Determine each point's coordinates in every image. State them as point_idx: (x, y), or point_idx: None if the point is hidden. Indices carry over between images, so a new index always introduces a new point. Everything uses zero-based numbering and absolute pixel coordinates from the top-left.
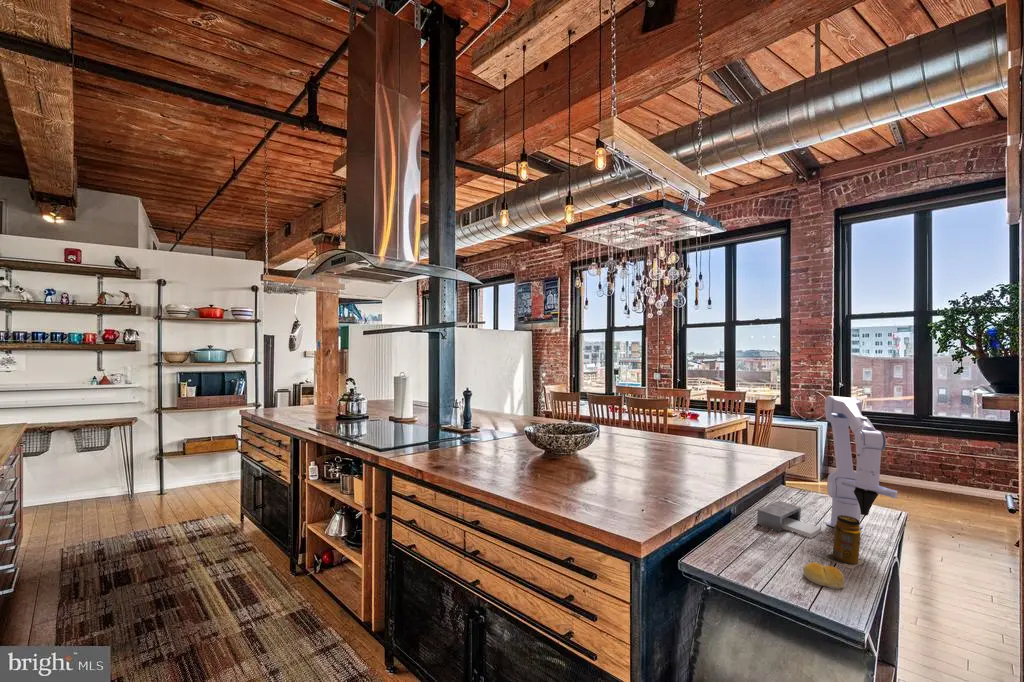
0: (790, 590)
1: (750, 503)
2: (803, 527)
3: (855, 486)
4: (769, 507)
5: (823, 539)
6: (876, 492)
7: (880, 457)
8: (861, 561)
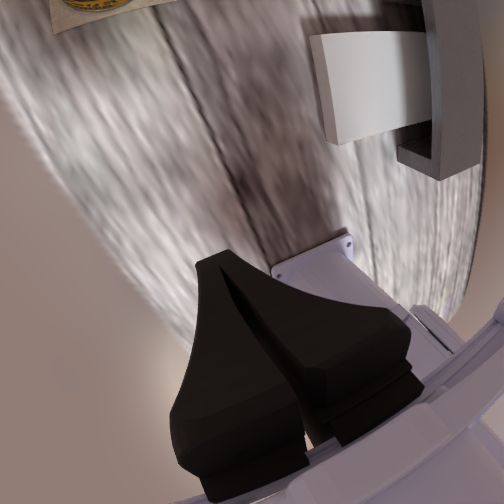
0: None
1: (485, 151)
2: (367, 74)
3: (434, 392)
4: (476, 56)
5: (282, 78)
6: (211, 501)
7: None
8: (62, 26)
